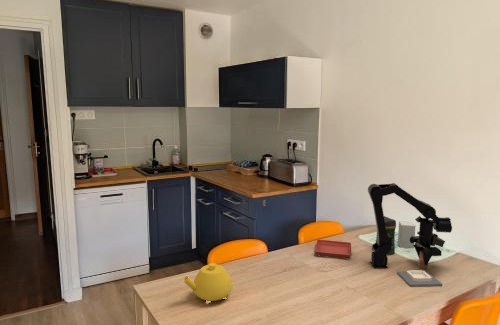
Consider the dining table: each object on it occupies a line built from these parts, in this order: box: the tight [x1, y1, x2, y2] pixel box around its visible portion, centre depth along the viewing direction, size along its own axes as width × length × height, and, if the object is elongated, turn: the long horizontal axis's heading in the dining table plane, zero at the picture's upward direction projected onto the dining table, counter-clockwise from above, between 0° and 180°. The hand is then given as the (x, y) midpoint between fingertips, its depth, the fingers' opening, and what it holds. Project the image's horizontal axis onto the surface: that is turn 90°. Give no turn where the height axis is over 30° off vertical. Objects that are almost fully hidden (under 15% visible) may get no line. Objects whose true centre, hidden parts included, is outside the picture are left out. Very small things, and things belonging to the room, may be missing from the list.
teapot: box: [182, 262, 233, 302], centre depth 151 cm, size 20×16×14 cm
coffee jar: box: [375, 215, 397, 256], centre depth 199 cm, size 10×8×19 cm
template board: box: [396, 269, 443, 288], centre depth 168 cm, size 14×13×2 cm
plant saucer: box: [314, 239, 353, 259], centre depth 200 cm, size 18×18×3 cm
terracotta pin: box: [418, 250, 429, 271], centre depth 179 cm, size 4×4×8 cm
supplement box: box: [397, 221, 416, 249], centre depth 208 cm, size 7×7×13 cm
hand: (423, 263), depth 180 cm, fingers closed on terracotta pin, 4 cm apart
